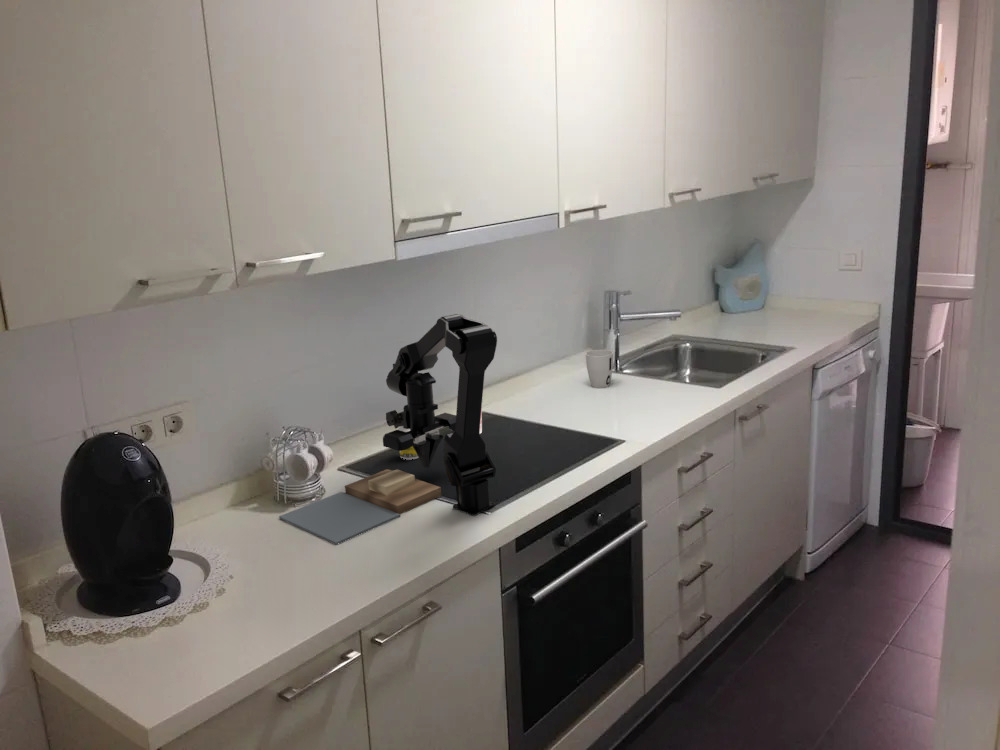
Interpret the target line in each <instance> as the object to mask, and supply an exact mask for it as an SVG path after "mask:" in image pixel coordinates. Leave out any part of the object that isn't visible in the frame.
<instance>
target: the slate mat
mask: <svg viewBox="0 0 1000 750" xmlns="http://www.w3.org/2000/svg"><path fill="white" fill-rule="evenodd" d="M398 518H401V514H398V513H395V512H393V511H390V510H388V509H385V508H383V507H380V506H377V505H375V504H372V503H370V502H367V501H365V500H362V499H359V498H357V497H354V496H352V495H349V494H347V493H346V492H345V491H340V492H337V493H334V494H332V495H329V496H327V497H324V498H322V499H319V500H317V501H314V502H312V503H310V504H309V503H308V504H307V505H304V506H302V507H299V508H296V509H294V510H291V511H289V512H286V513H283V514H281V515H280V516H278V519H279V520H282V521H284V522H286V523H288V524H290V525H292V526H295V527H297V528H299V529H301V530H304V531H305V532H308V533H309V534H312V535H314V536H317V537H318V538H320V537H321V539H323V540H325V541H327V542H329V541H330V542H329V543H331V542H332V544H333V543H334V544H333V545H336V546H337V545H339V544H338V543H340V544H342V543H344V542H346V541H349V540H351V539H353V538H355V536H356V537H358V536H360V535H362V534H364V532H365V533H366V531H367V532H369V531H371V530H373V528H374V529H375V528H377V527H380V526H382V525H385V524H387V523H389V522H392V521H394V520H396V519H398ZM368 530H369V531H368ZM361 533H362V534H361ZM359 534H360V535H359ZM357 535H358V536H357ZM352 537H353V538H352ZM350 538H351V539H350ZM348 539H349V540H348ZM345 540H346V541H345ZM343 541H344V542H343ZM341 542H342V543H341Z"/></svg>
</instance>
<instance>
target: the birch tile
mask: <svg viewBox="0 0 1000 750" xmlns="http://www.w3.org/2000/svg"><path fill="white" fill-rule="evenodd" d="M415 479H416V477H415V474H412V473H409V472H406V471H403V470H400V469H397V468H396V469H394V470H392V471H391V472H389V473H386V474H384V475H381V476H379V477H376V478H374V479H371V480H368V484H369V489H370V490H372V491H375V492H378V493H380V494H383V495H386V496H387V495H390V494H392V493H395V492H397V491H399V490H402V489H404V488H407V487H409V486H411V485H414V484H415Z"/></svg>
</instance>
